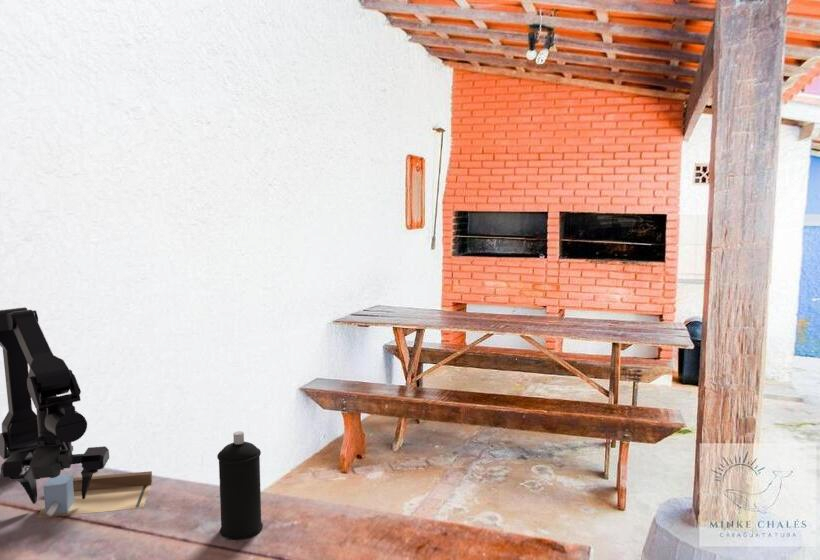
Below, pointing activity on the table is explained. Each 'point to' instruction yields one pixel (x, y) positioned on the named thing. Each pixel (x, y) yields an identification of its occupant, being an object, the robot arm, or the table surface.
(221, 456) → the aerosol can
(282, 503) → the table surface
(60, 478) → the block
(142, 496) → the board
